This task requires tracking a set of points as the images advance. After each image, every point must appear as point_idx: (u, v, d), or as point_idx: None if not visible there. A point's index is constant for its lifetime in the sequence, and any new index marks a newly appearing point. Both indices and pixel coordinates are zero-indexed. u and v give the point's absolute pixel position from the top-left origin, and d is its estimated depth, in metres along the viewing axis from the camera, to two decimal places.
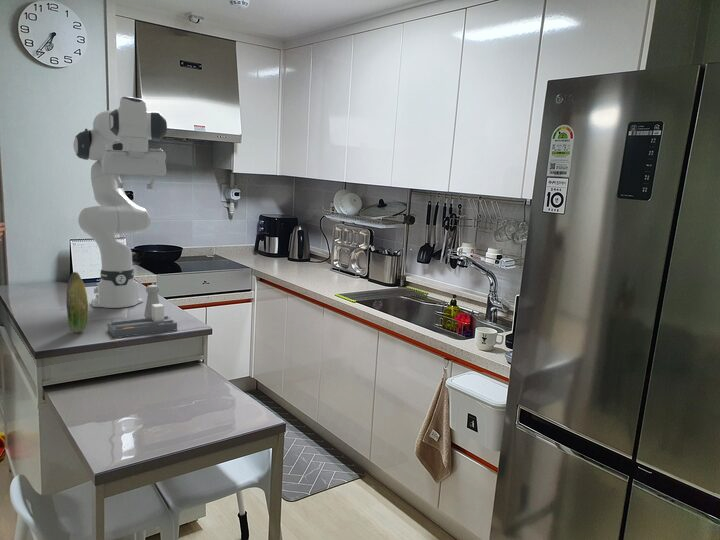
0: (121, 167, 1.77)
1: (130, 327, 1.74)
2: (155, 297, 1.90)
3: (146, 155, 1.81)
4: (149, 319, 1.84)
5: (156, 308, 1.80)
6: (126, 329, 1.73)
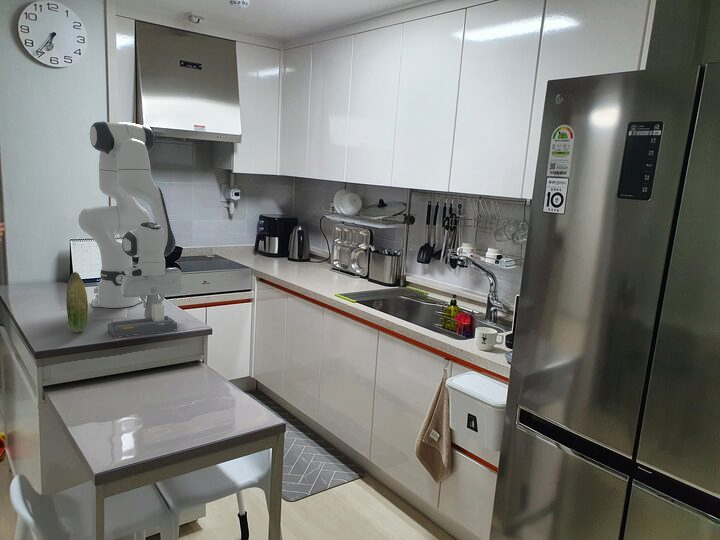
0: (140, 290, 1.86)
1: (130, 327, 1.74)
2: (155, 297, 1.90)
3: (163, 276, 1.90)
4: (149, 319, 1.84)
5: (156, 308, 1.80)
6: (126, 329, 1.73)
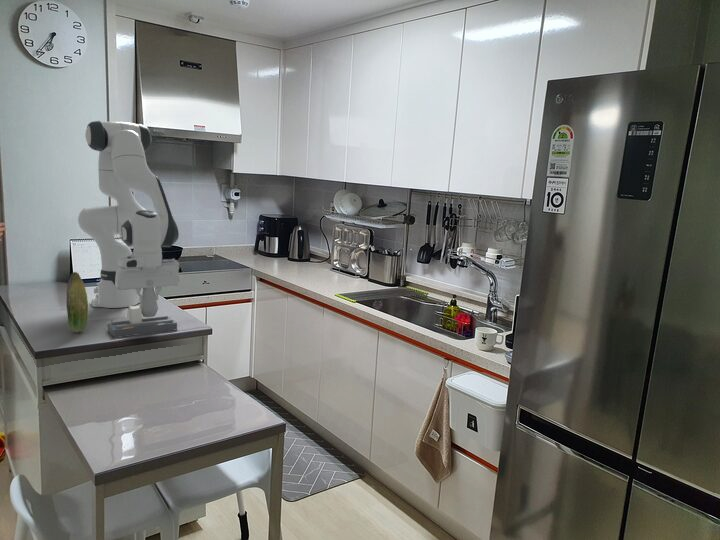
0: (135, 282, 1.75)
1: (130, 327, 1.74)
2: (151, 290, 1.79)
3: (160, 268, 1.79)
4: (149, 319, 1.84)
5: (133, 310, 1.76)
6: (126, 329, 1.73)
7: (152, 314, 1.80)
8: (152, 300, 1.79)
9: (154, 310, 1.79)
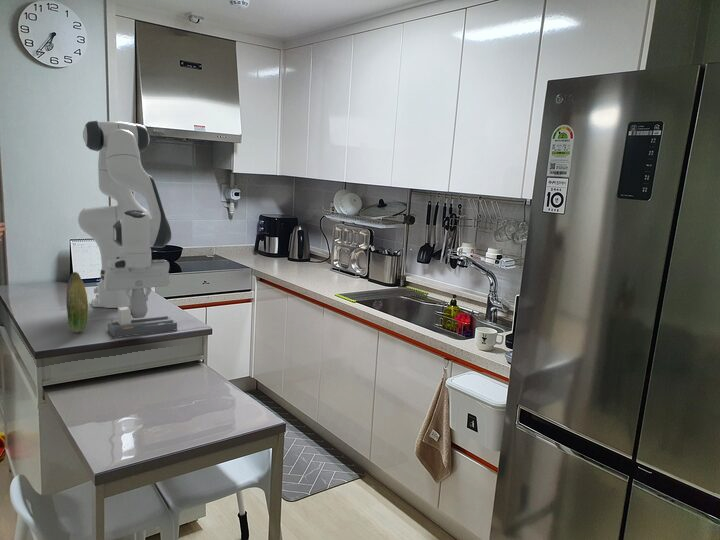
0: (123, 283, 1.73)
1: (130, 327, 1.74)
2: (140, 291, 1.77)
3: (149, 268, 1.77)
4: (149, 319, 1.84)
5: (122, 311, 1.74)
6: (126, 329, 1.73)
7: (141, 315, 1.78)
8: (141, 301, 1.77)
9: (143, 311, 1.77)
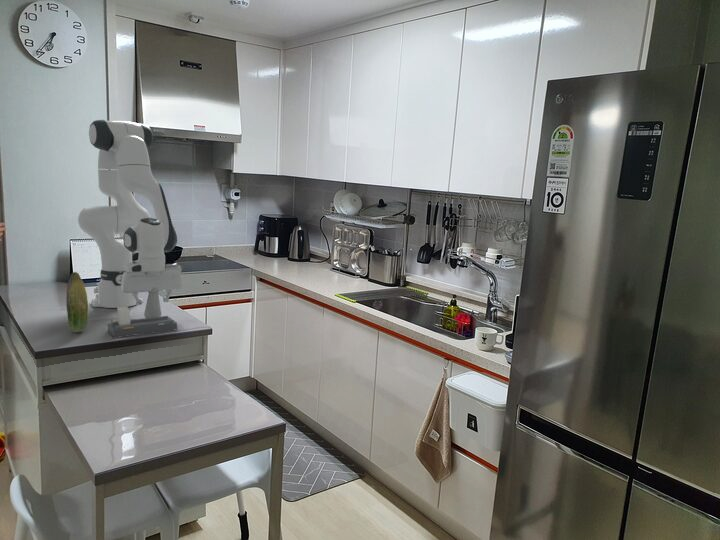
0: (139, 286, 1.86)
1: (130, 327, 1.74)
2: (155, 297, 1.90)
3: (163, 272, 1.90)
4: (149, 319, 1.84)
5: (121, 312, 1.74)
6: (126, 329, 1.73)
7: None
8: (156, 306, 1.90)
9: (158, 316, 1.90)
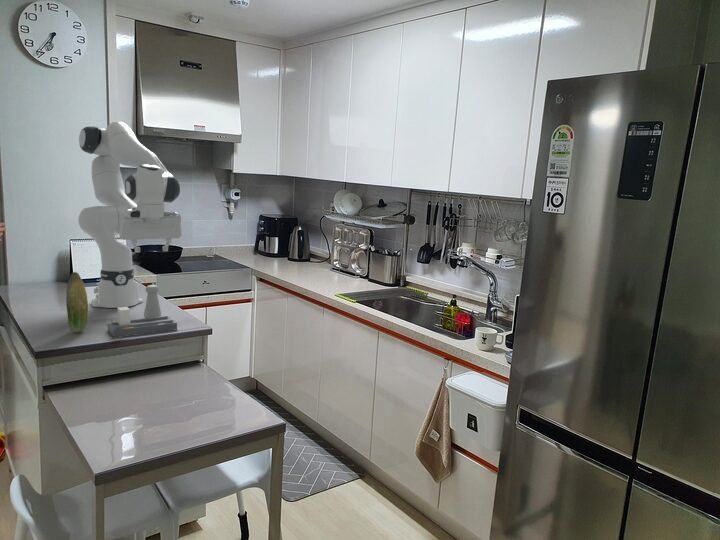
0: (138, 233, 1.83)
1: (130, 327, 1.74)
2: (155, 297, 1.90)
3: (162, 220, 1.87)
4: (149, 319, 1.84)
5: (121, 312, 1.74)
6: (126, 329, 1.73)
7: None
8: (155, 306, 1.90)
9: (157, 316, 1.90)
